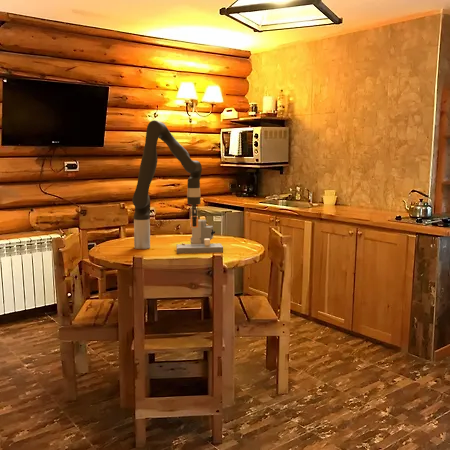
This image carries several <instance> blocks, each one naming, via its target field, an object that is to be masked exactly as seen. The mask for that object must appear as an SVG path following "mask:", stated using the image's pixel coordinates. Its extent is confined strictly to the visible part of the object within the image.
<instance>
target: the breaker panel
mask: <svg viewBox="0 0 450 450" xmlns="http://www.w3.org/2000/svg"><path fill="white" fill-rule="evenodd" d="M210 253H211V254H212V253H224V246H223V245H222V243H219V242H218V243H210V246H205V245H204V244H191V243H185V242H183V243H182V242H181V244H180V243H179V244H176V254H210Z"/></svg>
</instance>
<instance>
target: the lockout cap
mask: <svg viewBox="0 0 450 450" xmlns="http://www.w3.org/2000/svg"><path fill="white" fill-rule="evenodd" d="M198 216H199V215H197V220H196V225H197V226H196V227H198V220H199V217H198ZM193 217H196V216H193ZM190 224H191V227H193V221H192V216H191V215H190Z"/></svg>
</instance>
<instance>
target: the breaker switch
mask: <svg viewBox="0 0 450 450" xmlns="http://www.w3.org/2000/svg"><path fill="white" fill-rule="evenodd" d="M210 244H211V240H210V239H209V238H208V239H204V245H205V246H210Z"/></svg>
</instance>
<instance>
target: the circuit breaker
mask: <svg viewBox="0 0 450 450" xmlns="http://www.w3.org/2000/svg"><path fill="white" fill-rule="evenodd" d="M189 226H190V229H191V237H190V244H204V239H208V238H209V239H210V241H211V240H212V239H213V238H214V234H216V231H215V230H214V225H207V219H198V227H191V223H190V225H189Z"/></svg>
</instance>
